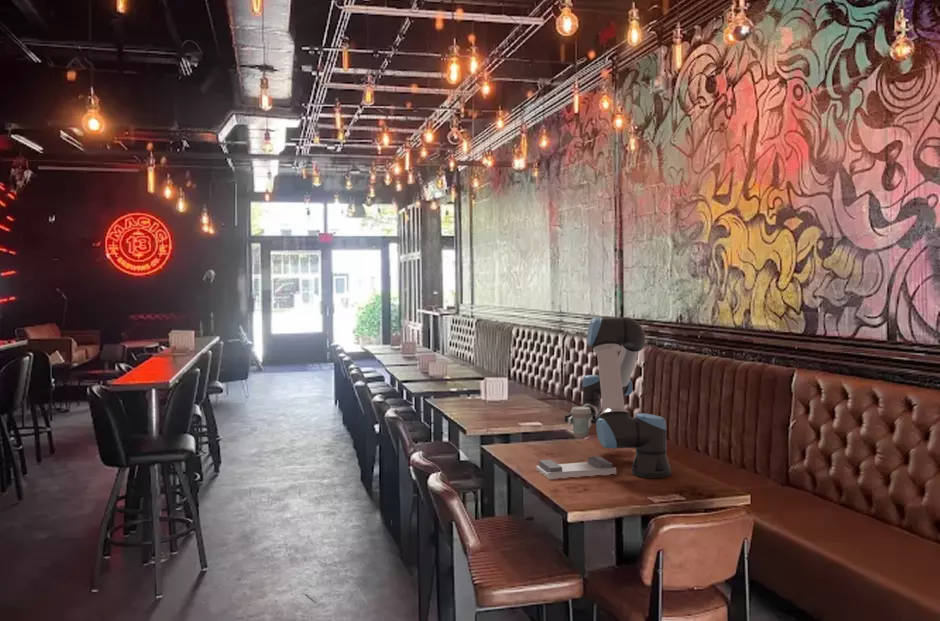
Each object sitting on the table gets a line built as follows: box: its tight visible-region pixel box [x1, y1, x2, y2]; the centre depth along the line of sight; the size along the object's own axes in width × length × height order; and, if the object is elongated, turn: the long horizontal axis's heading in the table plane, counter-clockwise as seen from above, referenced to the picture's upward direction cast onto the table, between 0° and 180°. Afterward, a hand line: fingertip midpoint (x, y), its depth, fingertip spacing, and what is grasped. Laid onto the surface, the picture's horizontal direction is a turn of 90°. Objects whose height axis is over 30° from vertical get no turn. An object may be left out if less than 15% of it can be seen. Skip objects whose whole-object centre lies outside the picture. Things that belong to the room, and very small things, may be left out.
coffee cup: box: [570, 406, 591, 439], centre depth 306 cm, size 9×8×12 cm
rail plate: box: [535, 455, 617, 480], centre depth 293 cm, size 28×16×4 cm, turn 103°
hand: (579, 422), depth 302 cm, fingers closed on coffee cup, 8 cm apart
